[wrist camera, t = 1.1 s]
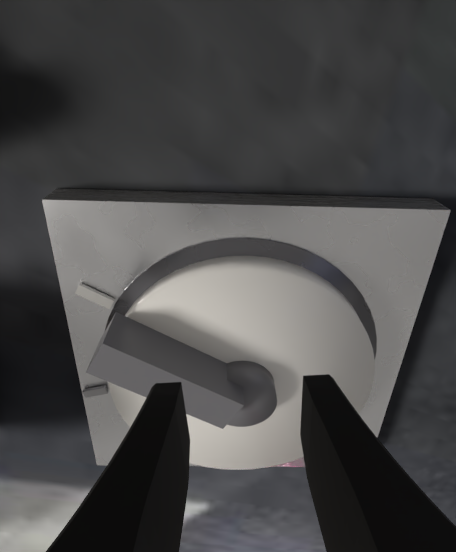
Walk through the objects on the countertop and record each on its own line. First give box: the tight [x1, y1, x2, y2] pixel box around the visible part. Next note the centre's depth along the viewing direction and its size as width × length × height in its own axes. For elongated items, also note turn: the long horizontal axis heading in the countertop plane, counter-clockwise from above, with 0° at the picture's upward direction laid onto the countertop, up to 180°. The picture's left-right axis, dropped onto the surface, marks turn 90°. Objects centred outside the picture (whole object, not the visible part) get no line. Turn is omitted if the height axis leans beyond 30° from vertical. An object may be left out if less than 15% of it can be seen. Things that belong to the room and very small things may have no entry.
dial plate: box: [42, 189, 451, 467], centre depth 20 cm, size 16×16×2 cm
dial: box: [86, 256, 375, 470], centre depth 17 cm, size 12×12×3 cm
